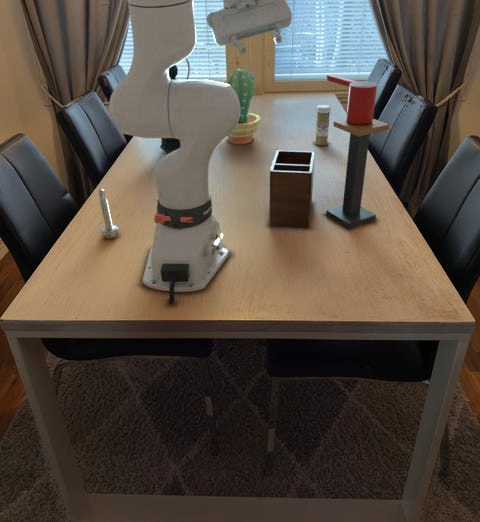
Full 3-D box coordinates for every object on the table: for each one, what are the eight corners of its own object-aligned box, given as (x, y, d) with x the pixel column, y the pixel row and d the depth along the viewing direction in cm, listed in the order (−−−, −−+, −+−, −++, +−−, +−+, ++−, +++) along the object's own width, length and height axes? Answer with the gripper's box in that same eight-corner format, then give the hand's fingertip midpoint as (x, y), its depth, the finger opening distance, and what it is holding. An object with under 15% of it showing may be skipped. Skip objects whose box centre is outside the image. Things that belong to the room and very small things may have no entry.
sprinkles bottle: (318, 146, 168) (320, 108, 161) (312, 142, 172) (315, 104, 164) (329, 144, 169) (332, 106, 162) (324, 140, 173) (327, 103, 165)
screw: (97, 237, 119) (112, 229, 122) (109, 243, 116) (124, 235, 119) (86, 189, 112) (103, 183, 115) (98, 195, 109) (115, 187, 112)
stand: (375, 219, 122) (389, 124, 108) (348, 229, 118) (359, 131, 105) (352, 206, 129) (362, 114, 115) (325, 215, 125) (333, 121, 111)
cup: (377, 122, 109) (383, 84, 105) (358, 127, 107) (362, 88, 102) (336, 108, 120) (339, 72, 116) (317, 112, 118) (319, 76, 113)
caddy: (308, 228, 119) (312, 173, 111) (269, 225, 121) (269, 171, 113) (311, 203, 131) (314, 151, 123) (275, 201, 133) (276, 150, 124)
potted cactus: (267, 143, 172) (268, 71, 159) (228, 149, 168) (225, 76, 154) (251, 131, 185) (250, 63, 171) (214, 136, 180) (209, 67, 166)
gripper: (203, 4, 116) (220, 49, 113) (281, -18, 118) (300, 26, 114) (205, 23, 122) (221, 66, 119) (279, 2, 124) (297, 44, 120)
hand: (261, 46), depth 117 cm, fingers open, 8 cm apart
